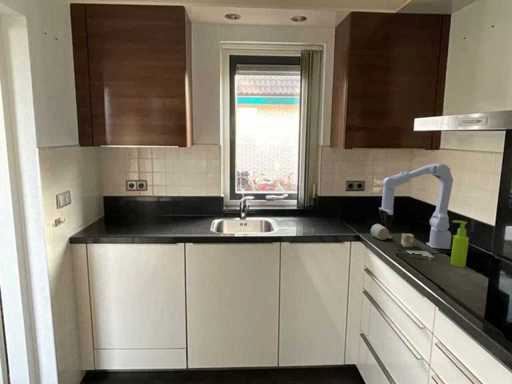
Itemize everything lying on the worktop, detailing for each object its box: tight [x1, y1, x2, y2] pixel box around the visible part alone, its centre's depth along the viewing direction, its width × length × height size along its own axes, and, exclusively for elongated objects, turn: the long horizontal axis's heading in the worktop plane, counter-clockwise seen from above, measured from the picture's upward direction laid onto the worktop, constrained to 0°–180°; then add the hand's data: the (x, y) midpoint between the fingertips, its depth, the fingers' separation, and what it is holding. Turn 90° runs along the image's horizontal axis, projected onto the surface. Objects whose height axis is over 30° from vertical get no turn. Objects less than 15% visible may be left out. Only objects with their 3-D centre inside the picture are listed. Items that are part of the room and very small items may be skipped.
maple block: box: [400, 233, 415, 248], centre depth 179 cm, size 4×4×6 cm
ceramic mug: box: [370, 223, 392, 241], centre depth 191 cm, size 11×8×8 cm
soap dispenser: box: [450, 220, 470, 268], centre depth 151 cm, size 6×7×20 cm
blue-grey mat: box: [405, 249, 435, 258], centre depth 165 cm, size 14×12×1 cm
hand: (385, 225), depth 181 cm, fingers open, 7 cm apart
